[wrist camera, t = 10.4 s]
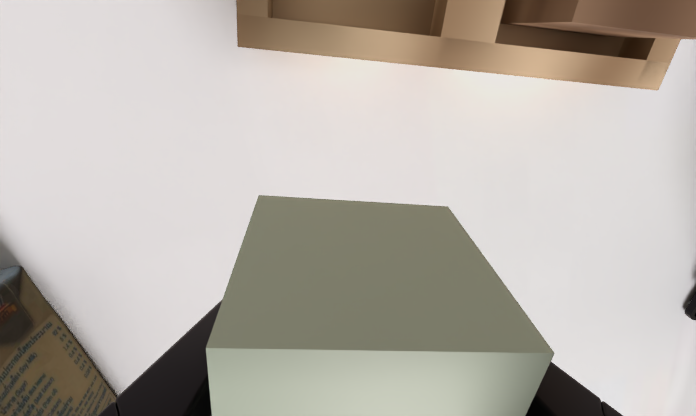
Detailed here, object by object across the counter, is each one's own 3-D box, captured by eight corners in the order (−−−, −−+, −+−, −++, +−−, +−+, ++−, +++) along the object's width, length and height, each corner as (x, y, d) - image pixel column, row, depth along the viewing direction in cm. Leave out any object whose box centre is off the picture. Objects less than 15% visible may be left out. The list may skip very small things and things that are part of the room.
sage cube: (448, 206, 9) (554, 353, 5) (414, 343, 11) (472, 529, 7) (258, 195, 8) (205, 347, 4) (259, 341, 10) (222, 539, 6)
